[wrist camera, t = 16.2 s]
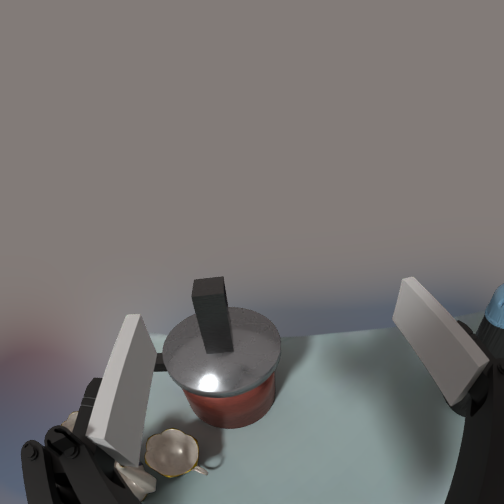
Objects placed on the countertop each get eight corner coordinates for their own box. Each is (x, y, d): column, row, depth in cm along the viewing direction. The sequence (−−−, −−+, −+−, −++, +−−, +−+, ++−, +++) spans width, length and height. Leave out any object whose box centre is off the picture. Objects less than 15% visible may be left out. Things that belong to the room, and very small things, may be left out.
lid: (270, 308, 48) (267, 248, 43) (291, 389, 32) (294, 323, 27) (172, 318, 47) (156, 261, 42) (158, 400, 31) (124, 338, 26)
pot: (269, 355, 53) (267, 311, 47) (283, 423, 38) (284, 385, 33) (146, 364, 51) (126, 323, 46) (132, 429, 36) (102, 392, 31)
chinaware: (213, 441, 37) (189, 380, 31) (213, 525, 21) (176, 496, 16) (79, 427, 36) (36, 368, 30) (56, 491, 20) (-6, 438, 15)
